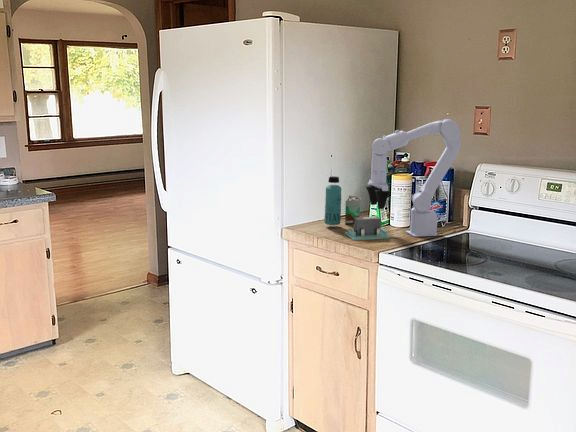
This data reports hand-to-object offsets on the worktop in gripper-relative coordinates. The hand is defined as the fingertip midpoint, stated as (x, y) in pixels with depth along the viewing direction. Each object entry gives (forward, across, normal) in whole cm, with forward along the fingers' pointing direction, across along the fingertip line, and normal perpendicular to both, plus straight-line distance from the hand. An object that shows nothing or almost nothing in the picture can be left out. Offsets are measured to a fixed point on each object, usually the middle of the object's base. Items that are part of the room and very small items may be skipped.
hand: (377, 206), depth 231 cm
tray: (+10, +5, -6) cm, 12 cm away
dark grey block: (+9, +5, -6) cm, 12 cm away
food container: (+10, -17, -3) cm, 20 cm away
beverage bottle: (+10, -11, -14) cm, 20 cm away
